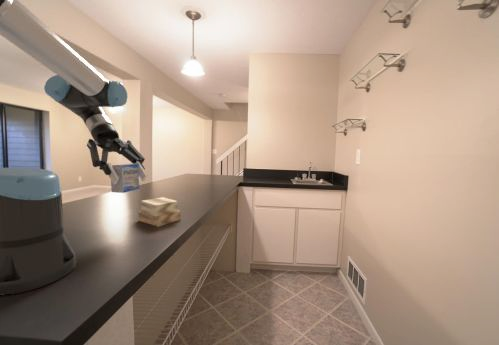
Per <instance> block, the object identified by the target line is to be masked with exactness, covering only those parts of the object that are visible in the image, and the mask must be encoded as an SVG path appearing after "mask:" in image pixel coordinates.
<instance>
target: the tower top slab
mask: <svg viewBox="0 0 499 345" xmlns="http://www.w3.org/2000/svg"><path fill="white" fill-rule="evenodd" d="M140 205H141V208H140V209H141V211H143V212H146V213H148V214H151V215H153V216H160V215H164V214H169V213H173V212H177V211H178V210H179V201H178V200H175V199H170V198H168V197H164V196H161V197H156V198H150V199H144V200H141V201H140Z"/></svg>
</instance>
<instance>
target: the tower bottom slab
mask: <svg viewBox="0 0 499 345" xmlns="http://www.w3.org/2000/svg"><path fill="white" fill-rule="evenodd" d="M180 220H181V210H179V209H178V211H177V212H173V213H169V214H164V215H160V216H153V215H151V214H148V213H146V212H143V211H142V210H139V211H138V221H139V222H142V223H144V224H148V225H152V226H155V227H158V228H159V227H162V226H164V225H167V224H171V223H173V222H177V221H180Z"/></svg>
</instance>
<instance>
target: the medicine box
mask: <svg viewBox="0 0 499 345" xmlns="http://www.w3.org/2000/svg"><path fill="white" fill-rule="evenodd" d="M111 165H112V167H113V168H114V170H115V172H116V174H117V176H118V177H119V180H118V182H117V184H115V185H114V184H113V183H112V181H111V180H110V186H111V189H110V190H111V193H122V194H125V193H128V192H132V191H137V190H139V189H140V186H141V185H140V176H139V165H138V164H133V163H125V164H124V163H122V164H111Z"/></svg>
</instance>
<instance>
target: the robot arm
mask: <svg viewBox="0 0 499 345" xmlns="http://www.w3.org/2000/svg"><path fill="white" fill-rule="evenodd" d="M0 36H1V37H2V38H4V39H6V40H7V41H8V42H9V43H12V44H13V45H14V46H16V47H17V48H18V49H20V50H22V51H23V52H24V53H26V55H29V56H30V57H31V58H32V59H34V60H35V61H37V62H39V63H40V65H43V66H44V67H45V68H47V70H49V71H51V72H52V73H54V74H55V75H53V76H51V77H49V78H48V80H47V81H46V82H45V85H44V88H43V89H44V93H46V95H47V96H49V97H50V98H51V99H53V100H54V101H55V102H57V103H59V105H61V106H63V107H64V108H66V109H68V110H69V111H71V113H74V115H76V116H78V117H79V118H81V119H82V121H83V123H84V125H85V126H86V128H87V129H88V132H89V134H90V135H91V137H92V138H93V139H92V138H89V139H88V141H87V143H86V147H87V149H89V153H90V158H91V164H92V166H93V168H98V167H99V170H100V171H103V173H104V174H105V175H106V176H108V177H109V179H110V182H111V181H112V183H113V184H114V185H115V184H117V182H118V180H119V177H118V176H117V174H116V172H115V170H114V168H113V167H112V165H113V164H112V163H111V162H108V159H109V153H113V152H114V153H117V154H118V155H120V156H121V155H122V156H123V157H124V158H125V159H126V160H128V161H129V162H130V163H131V164H138V165H139V179H141V181H142V182H143V181H145V180H147V177H148V174H147V172H146V171H145V166H144V164H143V163H144V162H145V160H146V158H145V157H144V156H143V155H142V153H140V151H139V150H138V149H137V148H136V147H135V145H133V143H132V141H131V140H127V141H124V140H123V139H121V138H120V136H119V132H118V131H117V129H116V128H115V127H114V125H113V123H112V121H111V120H110V118H109V117H108V115H107V113H106V112H105V110H104V108H115V107H124V105H126V103H127V102H128V91H127V88H126V87H125V85H124V84H123V83H122V82H120V81H118V80H117V81H115V80H111V81H110V80H108V79H107V78H106V77H104V76H103V75H102V73H100V72H99V71H98V70H97V69H96V68H94V67H93V65H92V64H90V63H89V62H88V61H87V60H86V59H85V58H83V56H81V55H80V54H79V53H78V52H77V51H75V50H74V48H72V47H71V46H70V45H69V44H67V43H66V42H65V41H64V40H63V39H62V38H61V37H60V36H59V35H58V34H57V33H55V32H54V31H53V30H52V29H51V28H50V27H49V26H47V24H46V23H44V22H43V21H42V20H41V19H40V18H39V17H38V16H37V15H35V13H33V12H32V11H31V10H30V9H29V8H27V7H26V5H24V4H23V3H22V2H21V1H19V0H0ZM98 147H99V148H100V149H102V151H101V158H100V155H99V151H98ZM62 193H63V192H62V187H61V183H60V178H59V176H58V174H57V173H55V172H54V171H52V170H49V169H43V168H34V167H0V295H1V294H11V295H15V293H16V294H20V293H25V292H29V291H33V290H35V289H39V288H42V287H45V286H47V285H50V284H52V283H54V282H56V281H58V280H61V279H63V278H64V277H66V276H67V275H68V274H70V273H72V271H73V270H74V269H75V268H76V266H77V261H76V260H77V258H76V253H75V251H74V249H73V248H72V246H71V245H70V243H69V241H68V238H67V237H66V236H65V228H64V216H63V215H64V213H63V198H62V197H63V196H62V195H63V194H62Z"/></svg>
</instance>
